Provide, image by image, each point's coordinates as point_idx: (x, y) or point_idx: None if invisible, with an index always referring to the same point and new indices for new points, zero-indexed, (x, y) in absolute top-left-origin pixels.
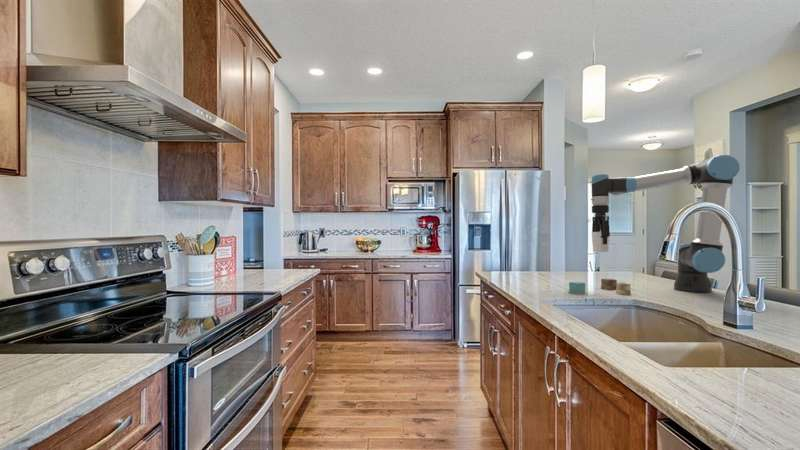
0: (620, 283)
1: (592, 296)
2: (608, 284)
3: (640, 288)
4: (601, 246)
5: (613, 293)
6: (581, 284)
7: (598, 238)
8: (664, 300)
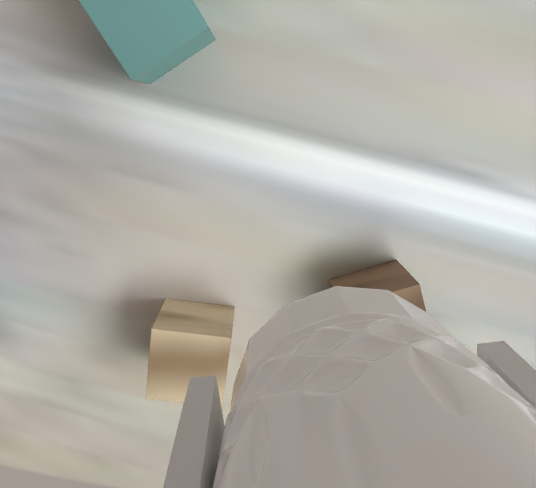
0: (163, 344)
1: (14, 98)
2: None
3: None
4: (191, 427)
5: (178, 273)
6: (107, 41)
7: None
8: (4, 461)
